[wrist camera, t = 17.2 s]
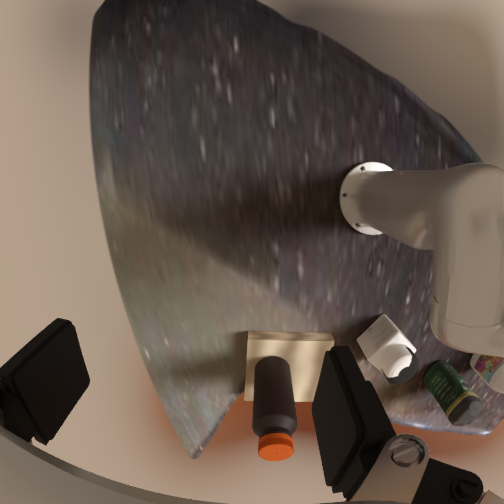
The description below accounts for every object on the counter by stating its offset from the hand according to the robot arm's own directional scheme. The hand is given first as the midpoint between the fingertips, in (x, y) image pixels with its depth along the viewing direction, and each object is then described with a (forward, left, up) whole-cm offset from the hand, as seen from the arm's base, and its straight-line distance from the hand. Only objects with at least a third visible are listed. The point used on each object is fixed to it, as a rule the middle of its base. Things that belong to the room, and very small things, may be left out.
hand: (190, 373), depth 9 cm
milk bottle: (-67, +32, -38) cm, 84 cm away
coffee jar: (-51, +35, -38) cm, 73 cm away
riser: (-10, +29, -38) cm, 49 cm away
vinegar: (-7, +28, -35) cm, 45 cm away
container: (-29, +22, -38) cm, 53 cm away
